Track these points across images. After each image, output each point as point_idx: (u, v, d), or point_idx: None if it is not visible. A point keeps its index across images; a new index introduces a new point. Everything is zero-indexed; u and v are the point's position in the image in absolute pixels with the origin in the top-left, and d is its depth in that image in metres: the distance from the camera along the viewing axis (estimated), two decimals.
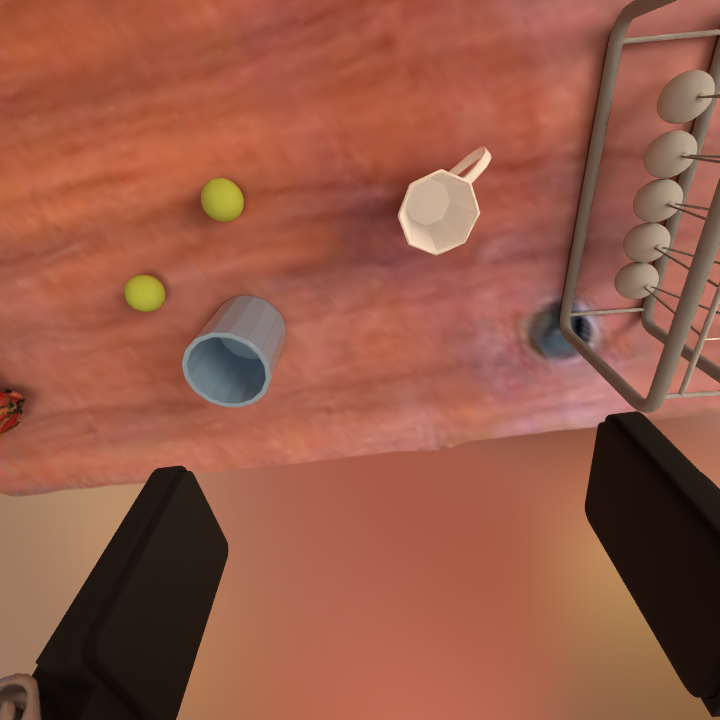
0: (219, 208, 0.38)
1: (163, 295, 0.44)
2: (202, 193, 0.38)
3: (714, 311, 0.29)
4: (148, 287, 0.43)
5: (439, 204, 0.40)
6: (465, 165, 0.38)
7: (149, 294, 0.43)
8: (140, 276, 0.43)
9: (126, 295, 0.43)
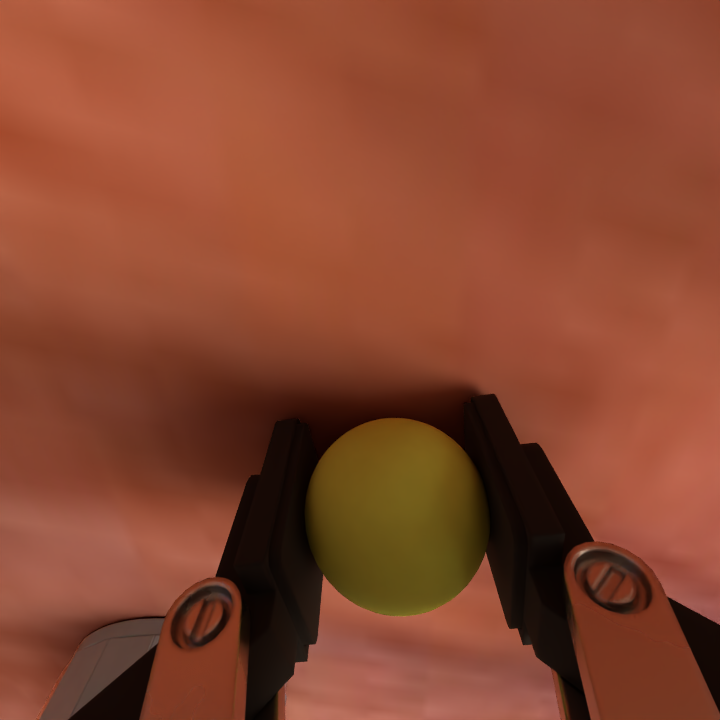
0: (396, 612, 0.07)
1: None
2: (360, 503, 0.07)
3: None
4: None
5: None
6: None
7: None
8: None
9: None
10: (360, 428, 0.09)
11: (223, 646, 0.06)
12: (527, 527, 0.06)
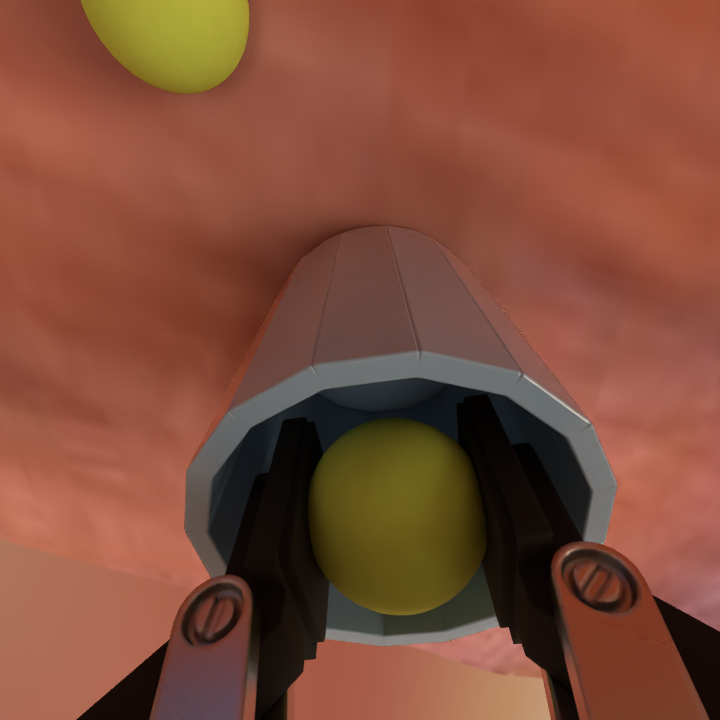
0: (395, 611, 0.07)
1: (234, 62, 0.11)
2: (361, 502, 0.07)
3: None
4: None
5: None
6: None
7: (200, 2, 0.09)
8: None
9: None
10: (360, 428, 0.09)
11: (234, 644, 0.06)
12: (516, 526, 0.06)
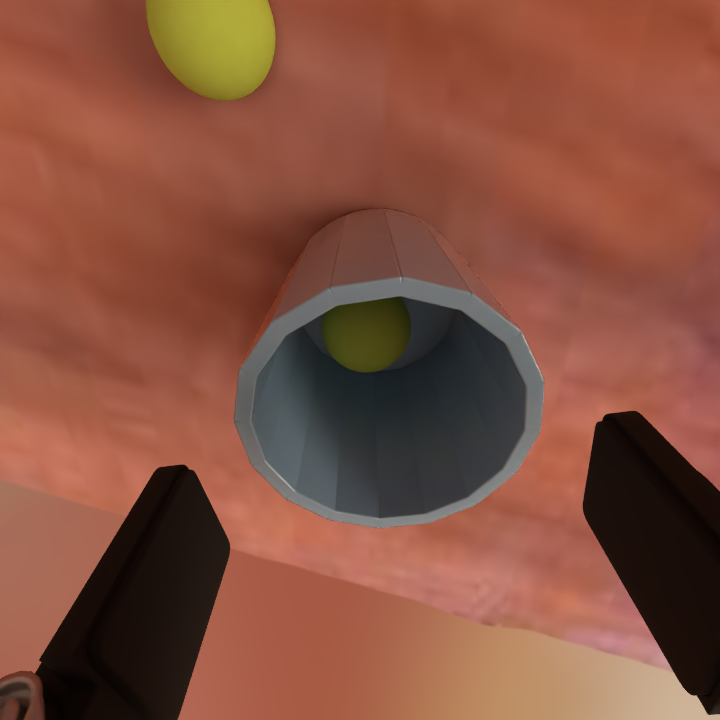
0: (350, 361, 0.17)
1: (263, 76, 0.14)
2: (340, 309, 0.17)
3: None
4: (252, 11, 0.12)
5: None
6: None
7: (242, 33, 0.12)
8: None
9: None
10: None
11: None
12: None
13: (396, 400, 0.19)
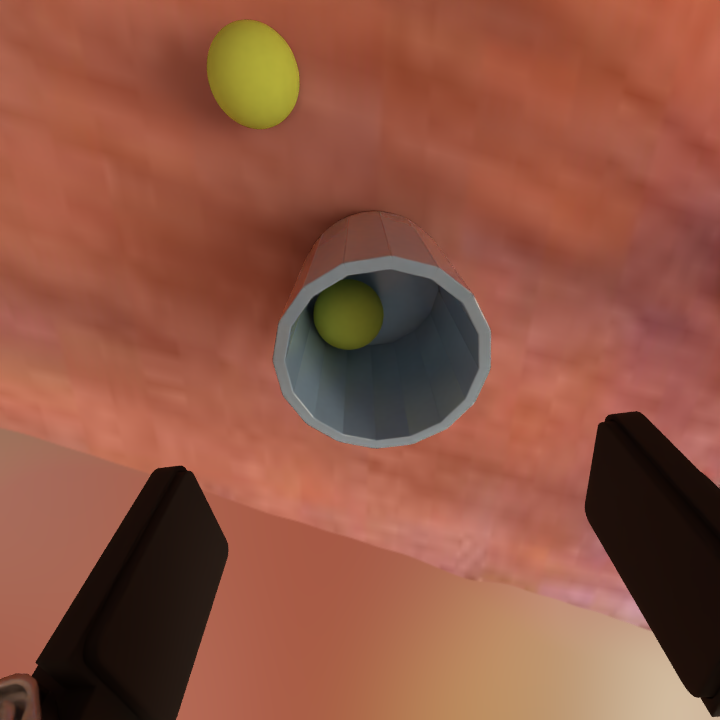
0: None
1: (290, 111, 0.19)
2: (320, 301, 0.22)
3: None
4: (285, 68, 0.17)
5: None
6: None
7: (277, 84, 0.17)
8: (276, 32, 0.17)
9: (223, 44, 0.16)
10: (342, 280, 0.22)
11: None
12: None
13: (389, 364, 0.24)
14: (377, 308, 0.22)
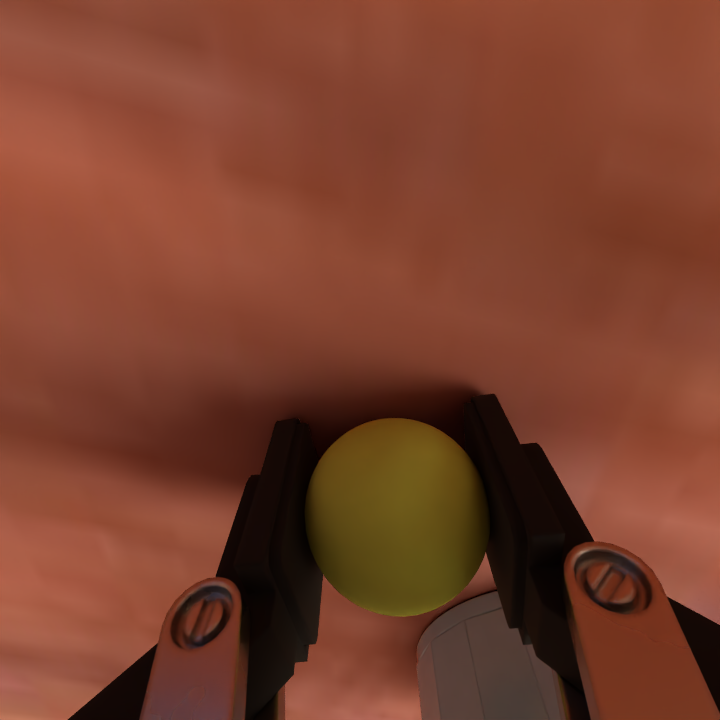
0: None
1: None
2: None
3: None
4: (482, 550, 0.08)
5: None
6: None
7: (466, 584, 0.08)
8: (459, 461, 0.08)
9: (360, 545, 0.07)
10: None
11: (224, 645, 0.06)
12: (527, 527, 0.06)
13: None
14: None
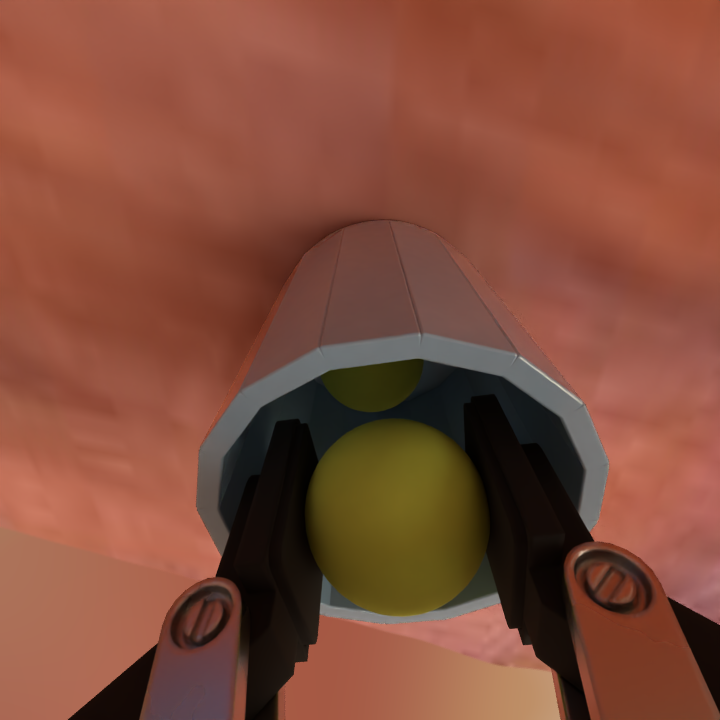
0: (353, 401, 0.14)
1: None
2: None
3: None
4: (482, 550, 0.08)
5: None
6: None
7: (466, 584, 0.08)
8: (459, 461, 0.08)
9: (360, 545, 0.07)
10: None
11: (223, 646, 0.06)
12: (527, 527, 0.06)
13: None
14: None
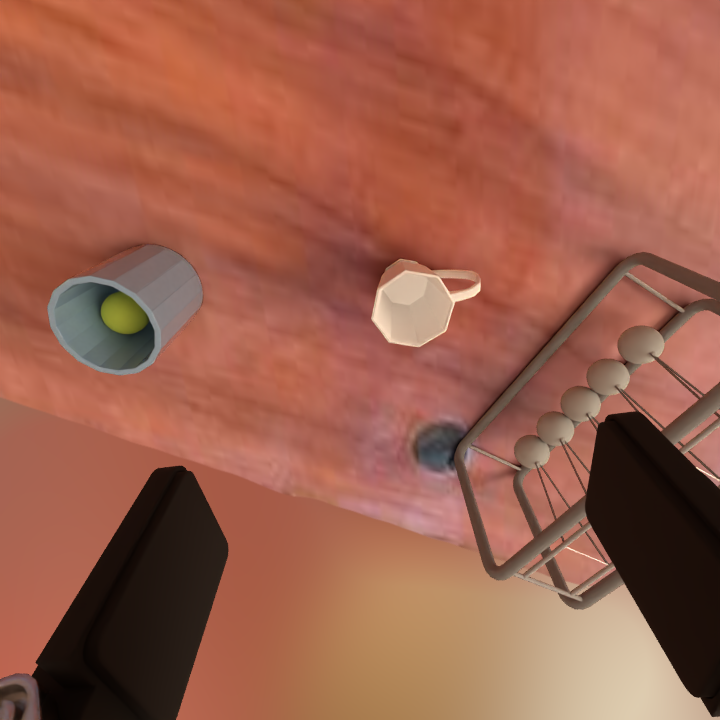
0: None
1: None
2: None
3: (584, 531, 0.33)
4: None
5: (413, 292, 0.40)
6: (453, 276, 0.39)
7: None
8: (103, 319, 0.36)
9: None
10: None
11: None
12: None
13: None
14: None
